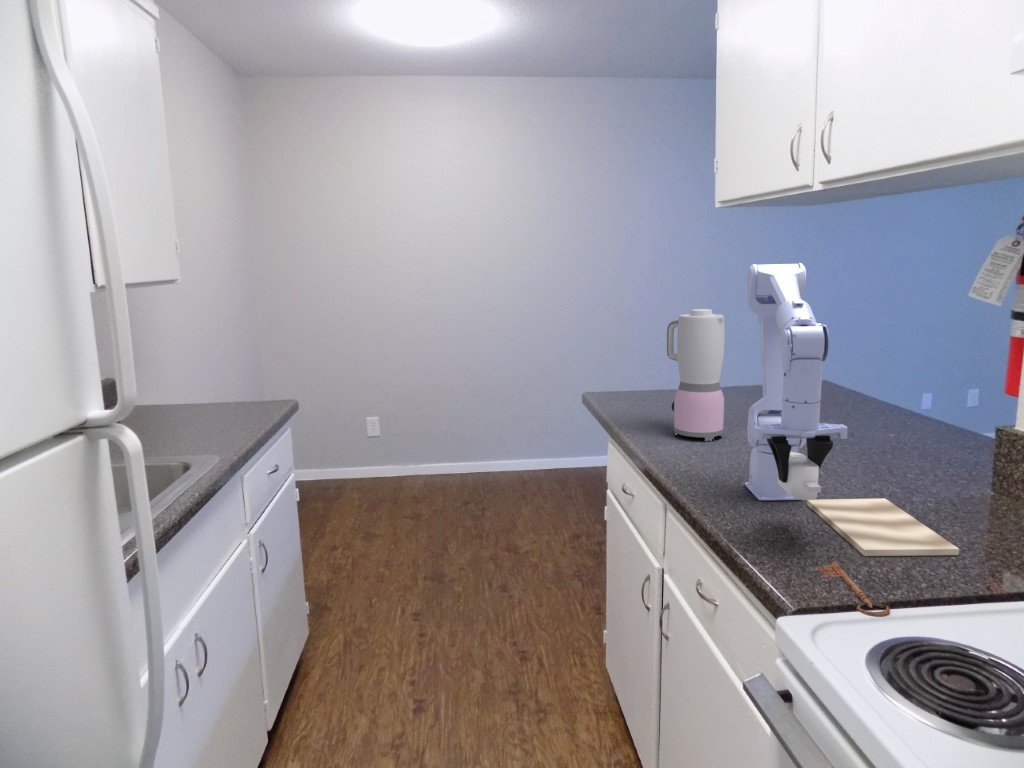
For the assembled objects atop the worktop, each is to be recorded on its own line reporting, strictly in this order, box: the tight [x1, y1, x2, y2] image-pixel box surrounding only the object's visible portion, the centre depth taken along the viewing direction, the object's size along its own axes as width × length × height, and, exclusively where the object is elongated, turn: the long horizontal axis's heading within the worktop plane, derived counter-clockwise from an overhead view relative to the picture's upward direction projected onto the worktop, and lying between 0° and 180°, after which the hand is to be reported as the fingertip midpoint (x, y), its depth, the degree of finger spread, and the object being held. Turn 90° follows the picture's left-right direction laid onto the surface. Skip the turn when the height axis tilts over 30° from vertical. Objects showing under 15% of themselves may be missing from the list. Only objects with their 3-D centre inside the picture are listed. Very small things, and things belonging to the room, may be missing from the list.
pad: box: [806, 497, 960, 557], centre depth 115 cm, size 22×14×1 cm, turn 178°
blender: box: [666, 308, 726, 440], centre depth 173 cm, size 16×12×32 cm
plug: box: [777, 452, 822, 501], centre depth 112 cm, size 12×4×5 cm, turn 178°
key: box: [816, 561, 891, 617], centre depth 95 cm, size 6×1×15 cm
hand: (796, 480), depth 114 cm, fingers closed on plug, 4 cm apart
